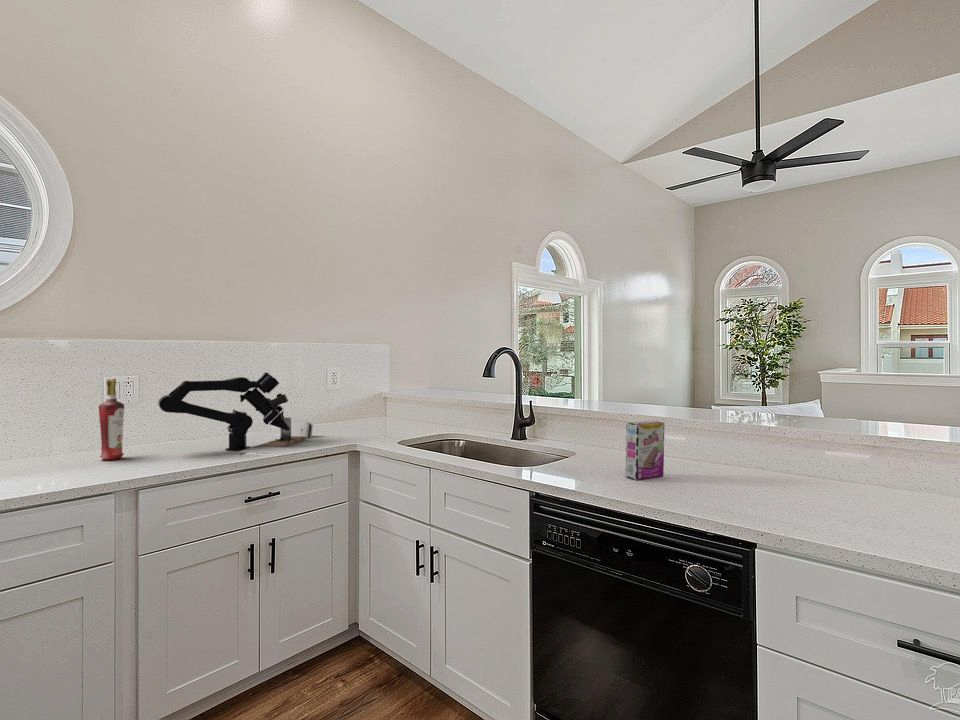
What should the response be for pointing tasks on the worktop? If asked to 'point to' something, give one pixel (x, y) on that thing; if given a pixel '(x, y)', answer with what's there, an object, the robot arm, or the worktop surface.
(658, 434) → the candy bar box
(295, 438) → the brown slotted block
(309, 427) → the white game console
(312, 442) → the pale green square plate
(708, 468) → the worktop surface
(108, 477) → the worktop surface
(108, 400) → the liquor
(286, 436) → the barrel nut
